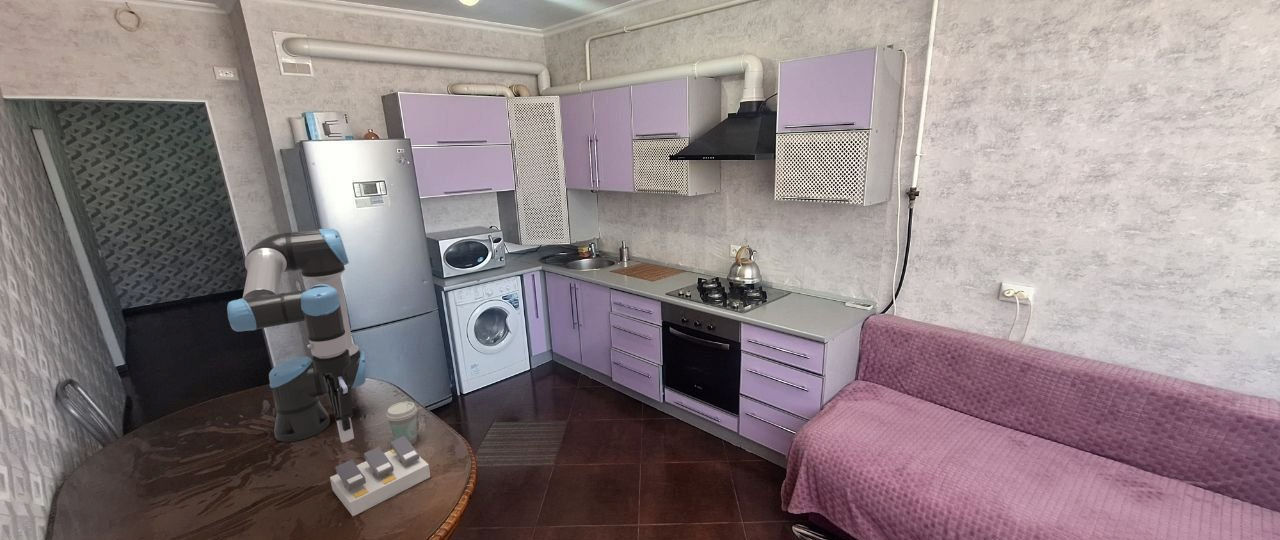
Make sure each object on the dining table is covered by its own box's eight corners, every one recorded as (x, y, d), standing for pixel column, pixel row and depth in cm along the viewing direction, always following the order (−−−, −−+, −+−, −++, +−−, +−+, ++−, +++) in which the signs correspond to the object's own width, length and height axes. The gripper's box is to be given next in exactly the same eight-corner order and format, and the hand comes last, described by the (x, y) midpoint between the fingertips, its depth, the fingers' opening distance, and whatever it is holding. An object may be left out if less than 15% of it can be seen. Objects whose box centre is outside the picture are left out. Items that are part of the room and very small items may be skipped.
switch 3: (390, 446, 143) (390, 441, 142) (404, 439, 146) (404, 435, 145) (404, 465, 138) (404, 461, 137) (419, 458, 141) (419, 454, 140)
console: (332, 490, 136) (328, 472, 135) (406, 455, 150) (404, 438, 149) (352, 516, 126) (349, 497, 125) (430, 476, 141) (427, 459, 139)
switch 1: (336, 471, 133) (335, 466, 133) (352, 464, 136) (351, 459, 135) (349, 490, 128) (348, 485, 127) (365, 482, 131) (365, 477, 130)
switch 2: (364, 457, 138) (363, 452, 137) (379, 450, 141) (379, 446, 140) (378, 478, 133) (377, 473, 132) (393, 471, 136) (393, 466, 135)
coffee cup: (410, 451, 152) (404, 416, 149) (385, 449, 154) (379, 413, 151) (427, 435, 160) (422, 401, 157) (403, 433, 162) (397, 399, 159)
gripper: (304, 350, 122) (322, 436, 128) (321, 365, 113) (340, 457, 120) (338, 340, 127) (353, 423, 133) (357, 354, 119) (373, 442, 125)
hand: (347, 439), depth 127 cm, fingers closed
